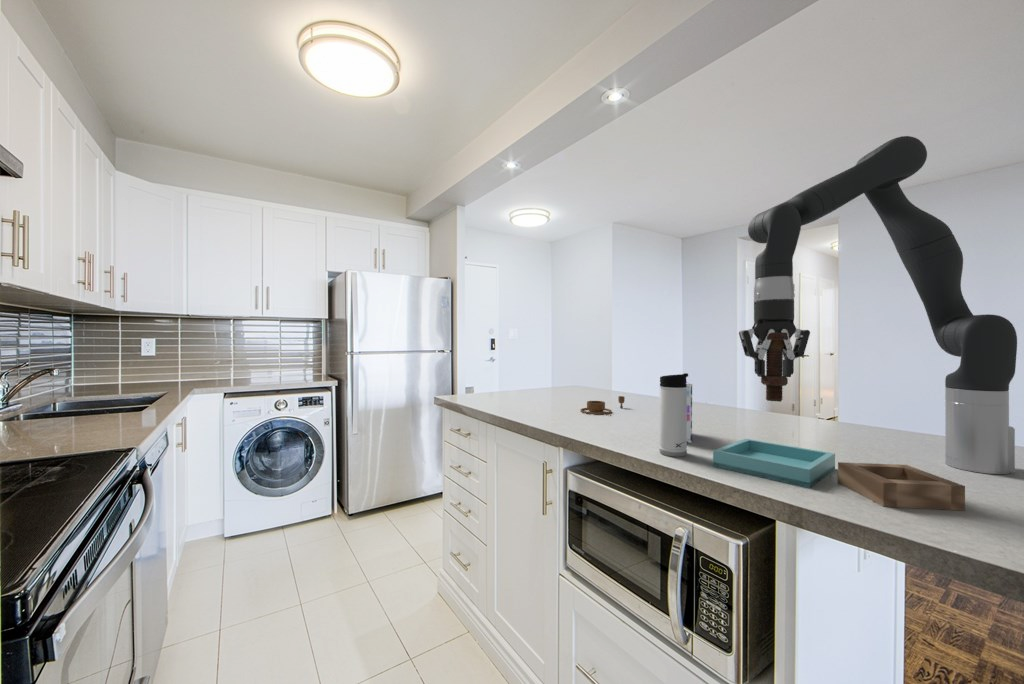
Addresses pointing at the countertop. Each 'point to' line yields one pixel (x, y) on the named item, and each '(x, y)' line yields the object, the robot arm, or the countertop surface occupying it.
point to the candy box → (689, 412)
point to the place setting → (600, 407)
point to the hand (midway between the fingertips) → (773, 376)
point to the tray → (775, 461)
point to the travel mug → (673, 415)
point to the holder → (901, 486)
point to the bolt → (775, 367)
